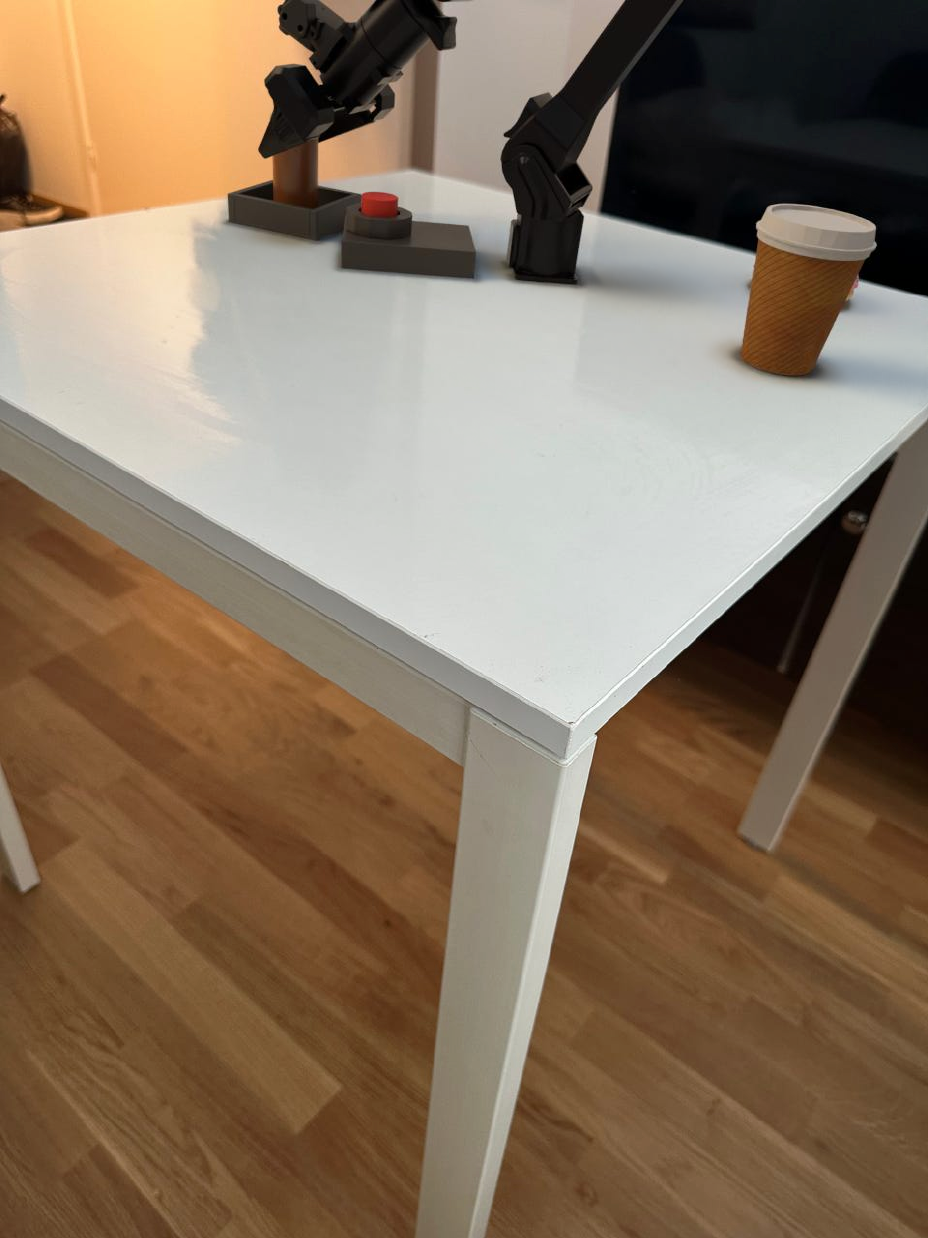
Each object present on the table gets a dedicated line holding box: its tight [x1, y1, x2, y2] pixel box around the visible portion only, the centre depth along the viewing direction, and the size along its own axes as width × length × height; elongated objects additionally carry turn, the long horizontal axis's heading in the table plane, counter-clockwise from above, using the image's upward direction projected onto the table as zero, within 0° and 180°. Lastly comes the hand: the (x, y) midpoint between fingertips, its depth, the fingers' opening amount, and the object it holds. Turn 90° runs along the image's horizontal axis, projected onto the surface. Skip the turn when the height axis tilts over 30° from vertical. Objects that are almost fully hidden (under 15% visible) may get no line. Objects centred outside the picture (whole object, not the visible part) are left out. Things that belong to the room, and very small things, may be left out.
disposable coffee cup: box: [739, 203, 878, 376], centre depth 77 cm, size 10×10×12 cm
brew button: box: [361, 191, 399, 217], centre depth 92 cm, size 4×4×2 cm
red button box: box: [340, 202, 477, 280], centre depth 94 cm, size 13×10×4 cm
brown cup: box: [269, 112, 319, 209], centre depth 99 cm, size 5×5×10 cm
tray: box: [227, 179, 363, 242], centre depth 101 cm, size 11×11×3 cm
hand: (284, 148), depth 98 cm, fingers open, 9 cm apart
